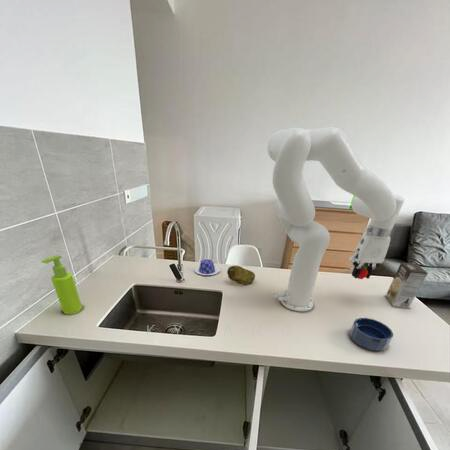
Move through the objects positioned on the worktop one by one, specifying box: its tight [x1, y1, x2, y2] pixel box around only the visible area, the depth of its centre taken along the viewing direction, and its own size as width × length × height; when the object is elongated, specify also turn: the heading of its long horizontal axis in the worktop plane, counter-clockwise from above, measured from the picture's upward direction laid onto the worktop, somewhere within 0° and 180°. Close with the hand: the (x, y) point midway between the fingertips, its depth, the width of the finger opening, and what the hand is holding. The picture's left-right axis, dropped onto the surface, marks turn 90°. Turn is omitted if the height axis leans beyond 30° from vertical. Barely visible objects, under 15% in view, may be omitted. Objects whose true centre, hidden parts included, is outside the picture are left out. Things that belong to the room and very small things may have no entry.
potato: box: [226, 265, 256, 285], centre depth 108 cm, size 8×13×8 cm, turn 89°
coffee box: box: [385, 261, 429, 309], centre depth 98 cm, size 9×6×16 cm
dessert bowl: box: [349, 317, 394, 352], centre depth 79 cm, size 11×11×5 cm
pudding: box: [194, 258, 220, 276], centre depth 118 cm, size 12×12×5 cm
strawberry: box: [357, 265, 368, 280], centre depth 96 cm, size 4×4×5 cm
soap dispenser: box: [41, 254, 83, 315], centre depth 81 cm, size 6×7×20 cm
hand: (360, 276), depth 97 cm, fingers closed on strawberry, 4 cm apart
